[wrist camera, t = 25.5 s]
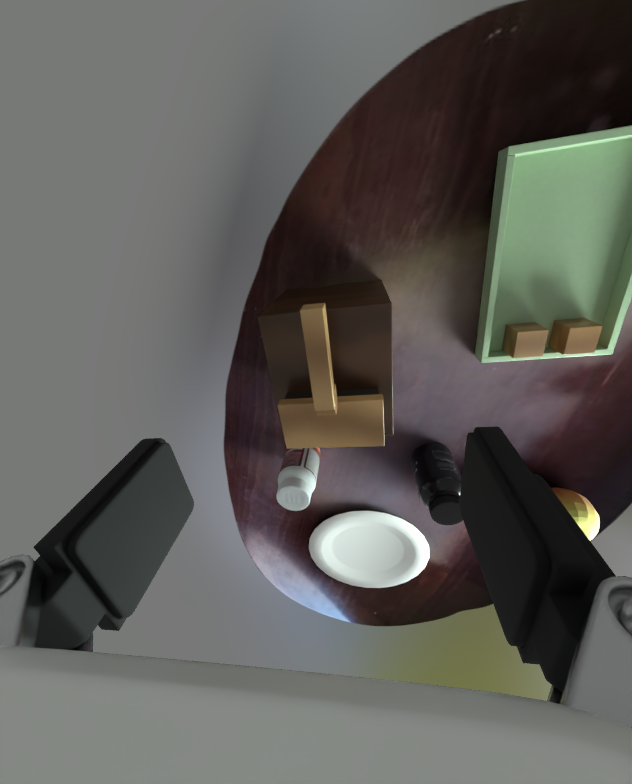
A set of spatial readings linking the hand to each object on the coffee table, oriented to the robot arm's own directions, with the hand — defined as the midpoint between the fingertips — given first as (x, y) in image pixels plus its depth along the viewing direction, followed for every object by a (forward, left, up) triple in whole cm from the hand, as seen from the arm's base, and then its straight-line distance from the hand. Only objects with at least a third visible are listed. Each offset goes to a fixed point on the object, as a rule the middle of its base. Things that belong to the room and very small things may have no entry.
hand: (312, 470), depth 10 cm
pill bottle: (+28, -10, -36) cm, 47 cm away
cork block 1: (+9, +22, -36) cm, 43 cm away
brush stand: (+7, -2, -36) cm, 37 cm away
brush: (+6, -2, -22) cm, 23 cm away
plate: (+54, 0, -36) cm, 65 cm away
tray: (0, +25, -36) cm, 44 cm away
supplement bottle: (+30, +12, -36) cm, 49 cm away
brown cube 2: (+9, +28, -36) cm, 46 cm away
